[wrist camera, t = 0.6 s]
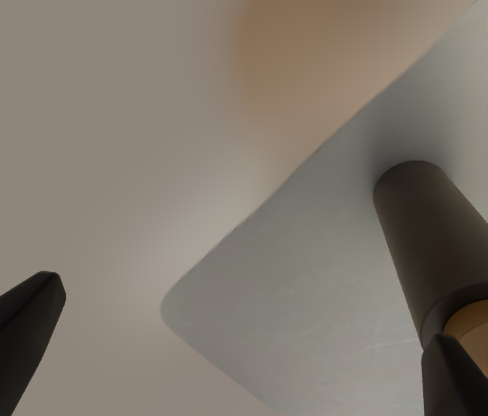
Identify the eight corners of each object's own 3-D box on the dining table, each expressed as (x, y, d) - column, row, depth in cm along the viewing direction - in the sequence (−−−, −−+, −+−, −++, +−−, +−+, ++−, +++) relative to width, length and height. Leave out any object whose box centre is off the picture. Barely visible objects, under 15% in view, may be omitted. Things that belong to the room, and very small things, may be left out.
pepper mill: (410, 240, 26) (491, 424, 14) (357, 198, 25) (397, 355, 13) (467, 191, 24) (615, 356, 12) (412, 145, 23) (513, 273, 12)
